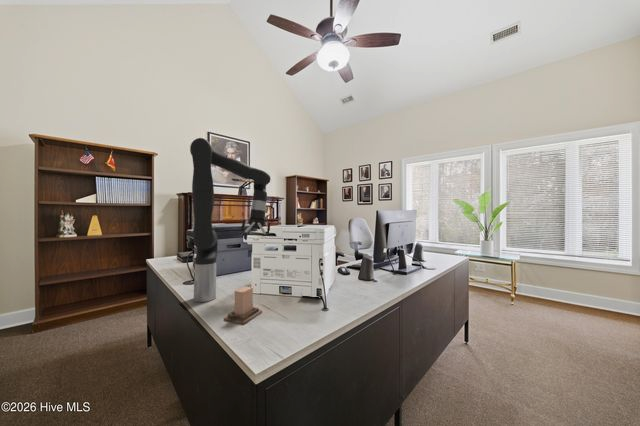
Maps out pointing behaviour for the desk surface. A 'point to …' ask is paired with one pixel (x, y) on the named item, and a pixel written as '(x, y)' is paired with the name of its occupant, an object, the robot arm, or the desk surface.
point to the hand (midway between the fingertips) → (254, 240)
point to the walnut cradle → (241, 319)
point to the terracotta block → (243, 301)
